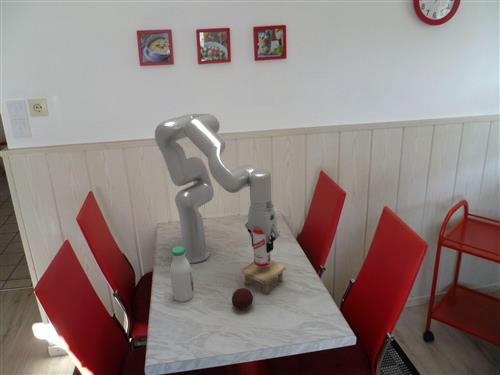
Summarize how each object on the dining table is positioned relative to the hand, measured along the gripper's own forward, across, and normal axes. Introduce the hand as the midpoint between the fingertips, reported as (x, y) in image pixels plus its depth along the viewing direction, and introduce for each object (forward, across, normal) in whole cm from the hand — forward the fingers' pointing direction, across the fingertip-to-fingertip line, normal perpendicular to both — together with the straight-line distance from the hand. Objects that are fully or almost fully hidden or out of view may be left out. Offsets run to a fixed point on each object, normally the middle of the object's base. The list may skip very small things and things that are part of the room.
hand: (262, 247), depth 152 cm
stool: (+15, 0, 0) cm, 15 cm away
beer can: (+7, 0, 0) cm, 7 cm away
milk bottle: (+16, +19, +24) cm, 34 cm away
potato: (+16, -3, +16) cm, 22 cm away
